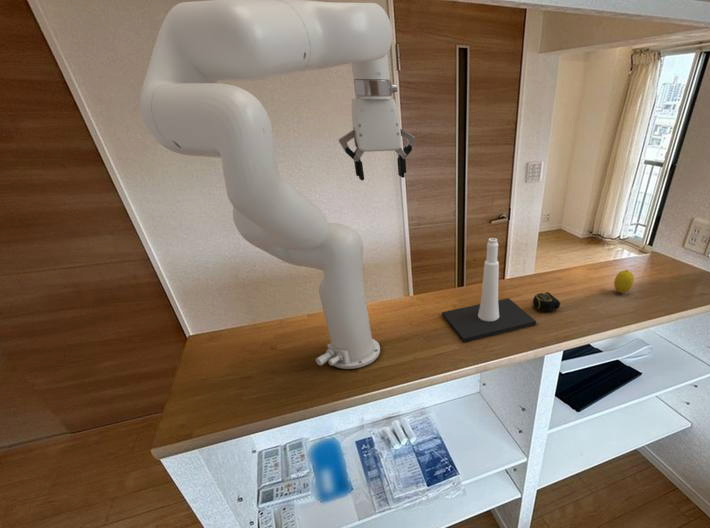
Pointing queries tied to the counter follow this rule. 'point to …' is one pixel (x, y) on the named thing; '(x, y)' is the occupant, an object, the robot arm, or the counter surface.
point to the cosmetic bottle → (490, 284)
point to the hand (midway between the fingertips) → (382, 177)
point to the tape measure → (545, 302)
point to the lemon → (624, 281)
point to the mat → (475, 328)
